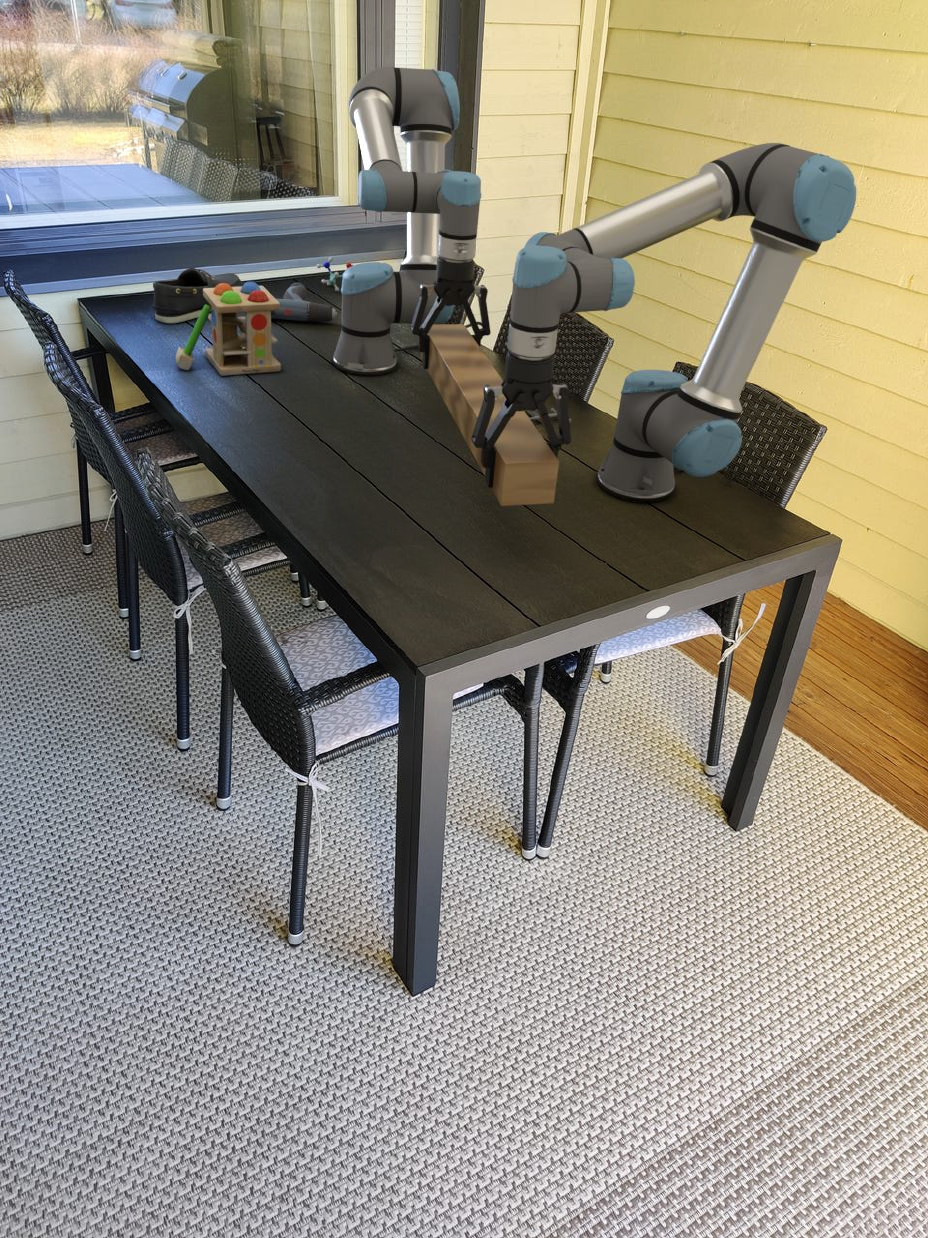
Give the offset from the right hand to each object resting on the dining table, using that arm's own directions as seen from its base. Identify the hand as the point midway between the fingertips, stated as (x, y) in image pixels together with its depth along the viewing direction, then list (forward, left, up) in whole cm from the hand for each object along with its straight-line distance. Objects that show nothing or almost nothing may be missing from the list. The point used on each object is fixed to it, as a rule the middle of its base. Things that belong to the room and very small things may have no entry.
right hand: (516, 482), depth 165 cm
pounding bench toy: (-4, -98, -12) cm, 99 cm away
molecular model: (-64, -137, -12) cm, 152 cm away
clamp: (-45, -37, -12) cm, 60 cm away
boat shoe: (-20, -138, -12) cm, 140 cm away
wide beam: (-13, -23, 0) cm, 27 cm away
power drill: (-43, -122, -12) cm, 129 cm away
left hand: (-26, -47, 0) cm, 54 cm away
